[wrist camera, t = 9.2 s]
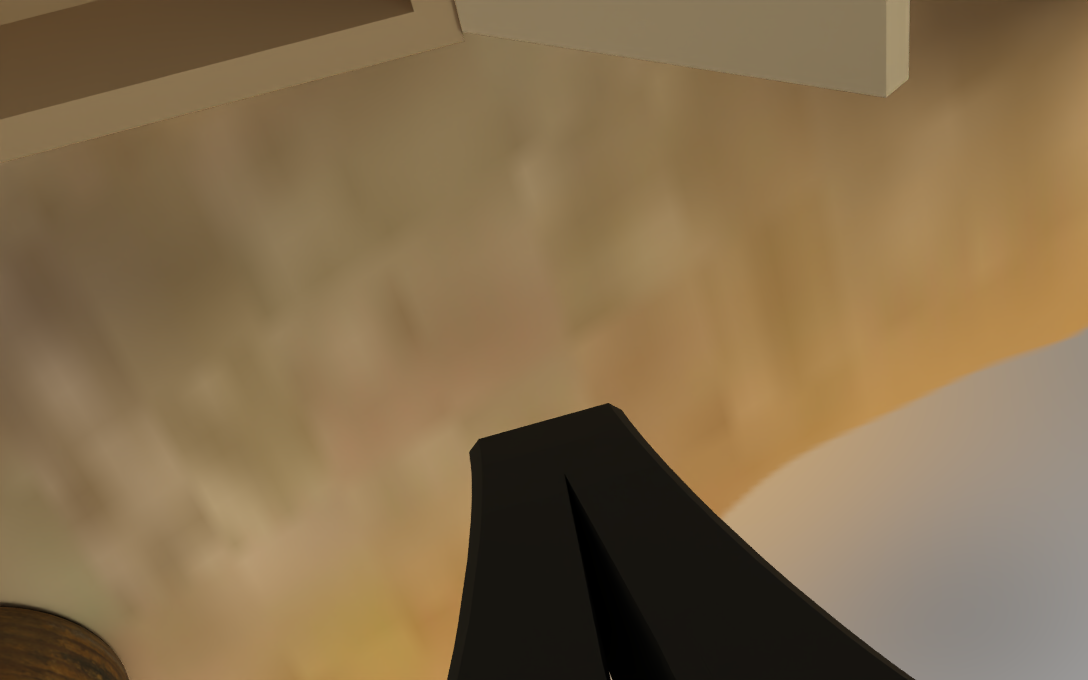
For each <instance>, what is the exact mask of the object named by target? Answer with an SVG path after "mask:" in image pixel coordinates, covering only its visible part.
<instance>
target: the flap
mask: <svg viewBox="0 0 1088 680" xmlns="http://www.w3.org/2000/svg"><path fill="white" fill-rule="evenodd" d="M455 3H456V7H457V11H458V15H459V19H460V23H461V27H462V31H463V32H466V33H472V34H479V35H485V36H492V37H498V38H504V39H511V40H517V41H524V42H530V43H537V44H543V45H549V46H556V47H562V48H569V49H575V50H582V51H588V52H595V53H601V54H607V55H614V56H620V57H627V58H633V59H640V60H646V61H653V62H659V63H665V64H672V65H678V66H685V67H691V68H698V69H704V70H711V71H717V72H723V73H730V74H736V75H743V76H749V77H756V78H762V79H769V80H775V81H781V82H788V83H794V84H801V85H807V86H814V87H820V88H827V89H833V90H839V91H846V92H852V93H859V94H865V95H872V96H878V97H885V98H886V97H888V96H889V95H890V94H891V93H892V92H894V91H895V90H896V89H897V88H898V87H900V86H901V85H902V84H903V83H904V82H906V81H907V80H908V79H909V25H910V0H455Z"/></svg>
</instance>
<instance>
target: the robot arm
mask: <svg viewBox="0 0 1088 680" xmlns="http://www.w3.org/2000/svg"><path fill="white" fill-rule="evenodd" d="M469 454H470V462H471V472H472V509H471V526H470V537H469V548H468V559H467V566H466V573H465V580H464V587H463V594H462V601H461V608H460V615H459V622H458V628H457V634H456V640H455V645H454V651H453V655H452V660H451V664H450V669H449V674H448V678H447V680H611V679H610V675H611V677H612V680H915V679H914V678H912V677H911V676H909V675H908V674H906V673H905V672H904V671H902V670H901V669H899V668H898V667H897V666H895V665H894V664H892V663H891V662H890V661H889V660H887V659H886V658H884V657H883V656H882V655H881V654H879V653H878V652H877V651H875V650H874V649H873V648H871V647H870V646H869V645H868V644H866V643H865V642H864V641H862V640H861V639H860V638H859V637H857V636H856V635H855V634H853V633H852V632H851V631H850V630H848V629H847V628H846V627H844V626H843V625H842V624H841V623H839V622H838V621H837V620H836V619H835V618H833V617H832V616H831V615H830V614H828V613H827V612H826V611H825V610H824V609H822V608H821V607H820V606H819V605H817V604H816V603H815V602H814V601H812V600H811V599H810V598H809V597H808V596H807V595H805V594H804V593H803V592H802V591H800V590H799V589H798V588H797V587H796V586H794V585H793V584H792V583H791V582H790V581H789V580H787V579H786V578H785V577H784V576H783V575H782V574H781V573H779V572H778V571H777V570H776V569H775V568H774V567H773V566H771V565H770V564H769V563H768V562H767V561H766V560H765V559H764V558H762V557H761V556H760V555H759V554H758V553H757V552H756V551H755V550H754V549H753V548H752V547H750V545H748V544H747V543H746V542H745V541H744V540H743V539H742V538H741V537H740V536H739V535H738V534H737V533H735V532H734V531H733V530H732V529H731V528H730V527H729V526H728V525H727V524H726V523H725V522H724V521H723V520H721V519H720V518H719V517H718V516H717V515H716V514H715V513H714V512H713V511H712V510H711V509H710V508H709V507H708V506H707V505H706V504H705V503H704V502H703V501H702V500H701V499H700V498H699V497H698V496H697V495H696V494H695V493H694V492H693V491H692V490H691V489H690V488H689V487H688V486H687V485H686V484H685V483H684V482H683V481H682V480H681V479H680V478H679V477H678V475H677V474H676V473H675V472H674V471H673V470H672V469H671V468H670V467H669V466H668V465H667V464H666V463H665V462H664V461H663V459H662V458H661V457H660V456H659V455H658V454H657V453H656V452H655V451H654V449H653V448H652V447H651V446H650V445H649V444H648V443H647V441H646V440H645V439H644V438H643V437H642V435H641V434H640V433H639V432H638V431H637V429H636V428H635V427H634V426H633V424H632V423H631V422H630V421H629V419H628V418H627V417H626V415H625V414H624V413H623V411H622V410H621V409H619V408H617V407H615V406H613V405H611V404H609V403H607V404H603V405H600V406H596V407H593V408H589V409H585V410H582V411H578V412H575V413H571V414H567V415H564V416H560V417H557V418H553V419H549V420H546V421H542V422H539V423H535V424H531V425H528V426H524V427H521V428H517V429H513V430H510V431H506V432H503V433H499V434H495V435H492V436H488V437H485V438H481V439H479V440H478V441H477V442H476V444H475V445H474V446H473V448H472V449H471V450H470V452H469ZM609 673H610V674H609Z"/></svg>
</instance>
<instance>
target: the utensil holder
mask: <svg viewBox="0 0 1088 680" xmlns="http://www.w3.org/2000/svg"><path fill="white" fill-rule="evenodd" d="M0 680H129V679H128V676H127V673H126V671H125V668H124V666H123V664H122V663H121V661H120V660H119V658H118V657H117V655H116V654H115V653H114V652H113V650H112V649H111V648H110V647H109V646H108V645H107V644H106V643H104V642H103V641H102V640H101V639H100V638H98V637H97V636H96V635H94V634H93V633H91V632H90V631H88V630H86V629H84V628H83V627H81V626H79V625H77V624H75V623H73V622H70V621H68V620H65V619H63V618H60V617H57V616H54V615H51V614H47V613H43V612H39V611H34V610H28V609H22V608H13V607H0Z"/></svg>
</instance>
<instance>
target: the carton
mask: <svg viewBox="0 0 1088 680" xmlns="http://www.w3.org/2000/svg"><path fill="white" fill-rule="evenodd" d="M460 42H464V38H463V33H462V29H461V25H460V21H459V17H458V13H457V9H456V5H455V1H454V0H0V163H4V162H7V161H11V160H15V159H19V158H23V157H26V156H30V155H34V154H38V153H42V152H45V151H49V150H53V149H57V148H61V147H64V146H68V145H72V144H76V143H80V142H83V141H87V140H91V139H95V138H99V137H102V136H106V135H110V134H114V133H118V132H122V131H125V130H129V129H133V128H137V127H141V126H144V125H148V124H152V123H156V122H160V121H163V120H167V119H171V118H175V117H179V116H182V115H186V114H190V113H194V112H198V111H201V110H205V109H209V108H213V107H217V106H220V105H224V104H228V103H232V102H236V101H239V100H243V99H247V98H251V97H255V96H258V95H262V94H266V93H270V92H274V91H277V90H281V89H285V88H289V87H293V86H296V85H300V84H304V83H308V82H312V81H315V80H319V79H323V78H327V77H331V76H335V75H338V74H342V73H346V72H350V71H354V70H357V69H361V68H365V67H369V66H373V65H376V64H380V63H384V62H388V61H392V60H395V59H399V58H403V57H407V56H411V55H414V54H418V53H422V52H426V51H430V50H433V49H437V48H441V47H445V46H449V45H452V44H456V43H460Z"/></svg>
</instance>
